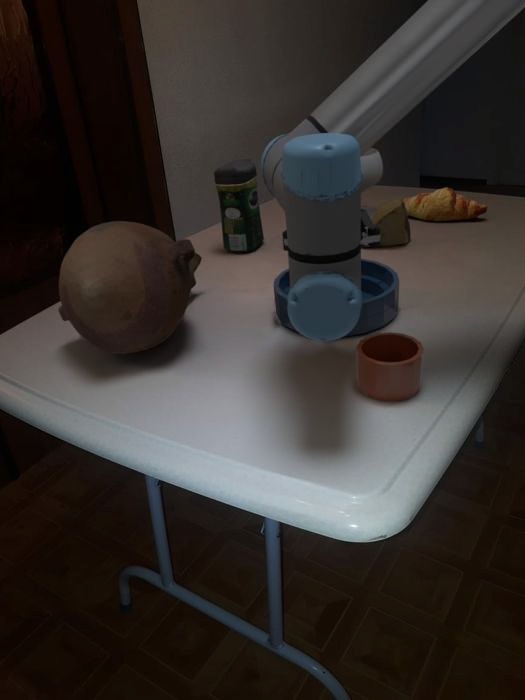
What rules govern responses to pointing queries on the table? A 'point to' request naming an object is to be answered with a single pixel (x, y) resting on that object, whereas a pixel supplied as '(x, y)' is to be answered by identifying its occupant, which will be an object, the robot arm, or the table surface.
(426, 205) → the croissant
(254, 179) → the coffee jar
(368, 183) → the chalice
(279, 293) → the bowl
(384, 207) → the rock
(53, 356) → the table surface
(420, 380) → the crock
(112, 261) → the jug
